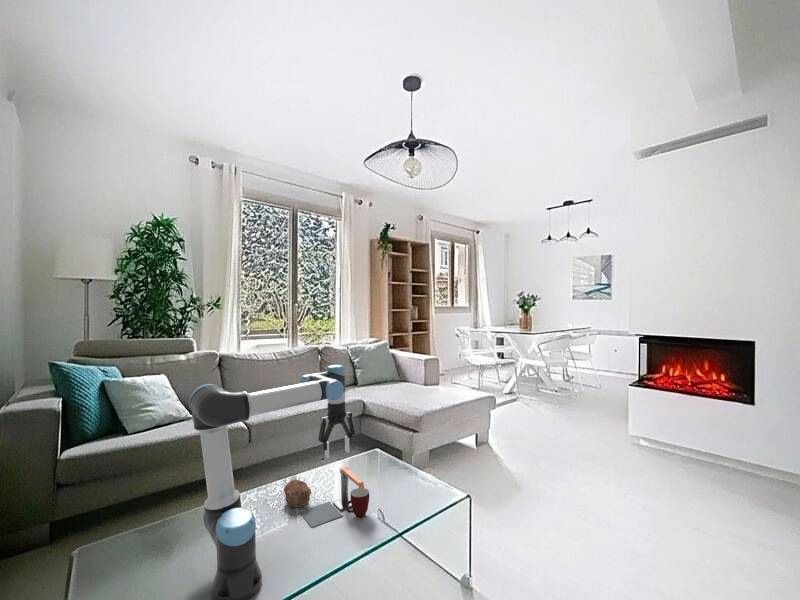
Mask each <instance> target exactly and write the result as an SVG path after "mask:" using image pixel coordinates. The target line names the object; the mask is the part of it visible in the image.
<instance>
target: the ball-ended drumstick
mask: <svg viewBox="0 0 800 600" xmlns="http://www.w3.org/2000/svg"><path fill="white" fill-rule="evenodd" d="M339 474H340V475H341V474H344V475H346V476H347V477H348V480H350V481H351V482H353V483H354V484H355V485H356V486H358V488H359V492H361V491H364V488H365V485H364V480H362V479H360V478H359V476H357V475H356V474H355V473H353V472H352V471H351V470H350V469H349V467H348V466H342V467H340V468H339Z"/></svg>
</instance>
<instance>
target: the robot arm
mask: <svg viewBox="0 0 800 600" xmlns="http://www.w3.org/2000/svg"><path fill="white" fill-rule="evenodd" d="M324 400H327V415H326V416H321V417H320V427H319V432H318V438H317V440H318V441H319V442H320V443H322V449H323V451H324V457H325V458H326V459H330V442H329V439H330V436H331V433H332V430H333V429H334V427H335V425H338V424H340V425H341V427H342V429H343V431H344V433H345V436H344V452H346V453H347V454H349V453H350V445H351V444H352V437H353V435H355V434H356V432H355V427H354V426H355V425H354V421H353V413H352V412H351V411H346V370H345V366H344V365H342V364H331V365H328V366H327V367H326V371H322V372H315V373H308V374H303V375H301V376H300V377H299V381H298V383H297V384H291V385H287V386H281V387H276V388H275V387H274V388H270V389H264V390H259V391H255V392H250V393H249V392H247V391H245V390H244V391H243V390H242V391H238V392H237V391H236V392H235V391H233V392H232V391H227V390H225V389H224V387H222V386H220V385H218V384H213V383H206V384H202V385H200V386H198V387H197V388H195V390H194V391H192V393H191V394H190V396H189V400H188V408H189V410H190V411H191V414H192V421H193V427H194V428H193V429H194V430H195V431H196V432H199V436H200V443H201V450H202V460H203V467H204V474H205V482H206V483H205V484H206V492H207V498H206V500H205V501H204V503H203V506H204V512H203V524H204V528H205V529H206V530H207V532H208V533H209V535H210V538H212V542H213V543H214V545H215V547H216V567H217V568H216V569H217V570H216V572H215V575H214V580H213V582H212V584H211V585H212V587H211V599H212V600H250V599H251V598H253V597H254V596H255V595H256V594H257V593H258V591H260V589H261V586H262V583H263V575H262V570H261V568H260V566H259V563H258V561H257V553H256V549H257V547H256V538H257V537H256V529H257V527H256V526H257V523H256V518H255V515H254V513H253V511H252V510H250V509H249V508H244V507H243V506H242V500H241V492H240V491H239V490H237V489H235V481H234V472H233V465H232V455H231V449H230V448H231V447H230V439H229V434H228V426H230V425H233V424H238V423H243V422H246V421H249V420H250V418H251V417H254V416H257V415H259V416H260V415H264V414H267V413H271V412H275V411H281V410H284V409H290V408H294V407H298V406H302V405H307V404H311V403H315V402H319V401H324ZM345 419H346V420H347V423H346V421H345ZM327 422H328V423H327ZM347 424H348V426H347Z"/></svg>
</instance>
